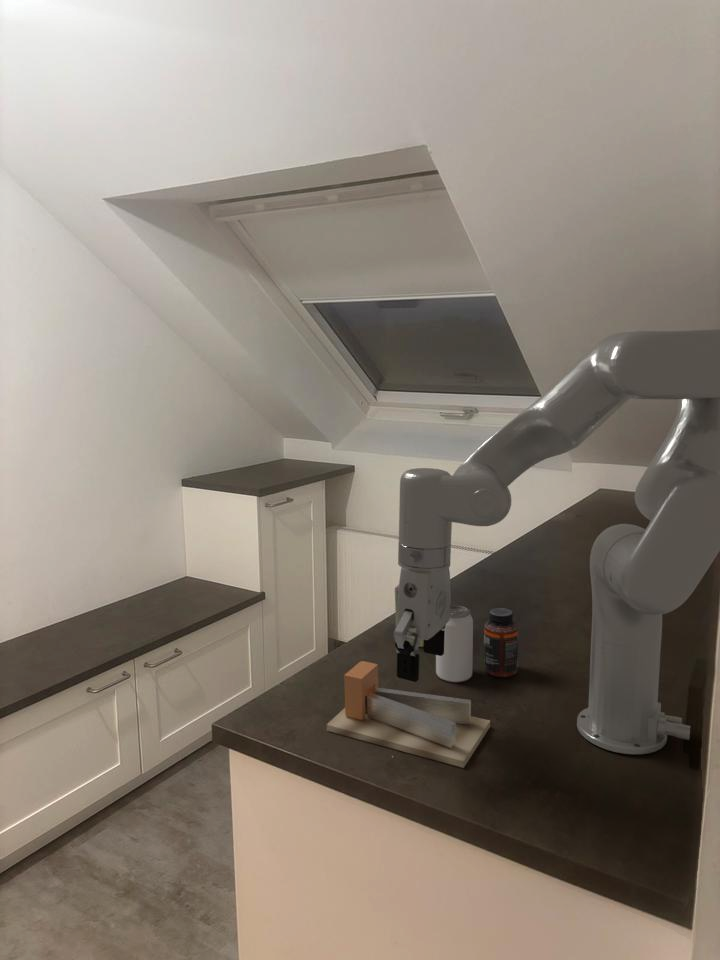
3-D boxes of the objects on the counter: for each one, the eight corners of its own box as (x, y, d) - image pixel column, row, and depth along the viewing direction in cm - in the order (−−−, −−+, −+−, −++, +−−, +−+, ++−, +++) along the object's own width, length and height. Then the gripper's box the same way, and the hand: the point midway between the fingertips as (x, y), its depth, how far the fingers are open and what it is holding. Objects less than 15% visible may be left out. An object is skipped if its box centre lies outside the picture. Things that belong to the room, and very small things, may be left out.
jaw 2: (367, 716, 106) (366, 695, 106) (372, 713, 107) (371, 692, 107) (451, 748, 97) (451, 726, 96) (455, 744, 98) (455, 722, 97)
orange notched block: (345, 715, 107) (344, 675, 105) (362, 699, 112) (361, 660, 110) (362, 720, 105) (361, 679, 104) (378, 703, 110) (377, 664, 109)
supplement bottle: (522, 668, 124) (524, 609, 122) (510, 681, 119) (511, 620, 117) (491, 661, 127) (492, 603, 125) (478, 673, 123) (479, 613, 121)
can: (428, 675, 122) (428, 611, 120) (451, 663, 127) (451, 601, 125) (457, 687, 118) (457, 621, 116) (479, 674, 122) (480, 610, 120)
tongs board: (326, 730, 105) (326, 709, 104) (363, 696, 115) (362, 676, 115) (463, 768, 95) (463, 744, 94) (490, 726, 105) (490, 705, 104)
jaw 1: (374, 710, 108) (373, 690, 107) (376, 707, 109) (376, 687, 108) (469, 724, 103) (469, 703, 103) (470, 720, 104) (470, 700, 104)
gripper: (425, 574, 89) (421, 696, 92) (469, 544, 104) (464, 649, 107) (374, 566, 93) (372, 683, 96) (423, 537, 108) (420, 640, 111)
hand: (421, 665), depth 102 cm, fingers open, 9 cm apart
